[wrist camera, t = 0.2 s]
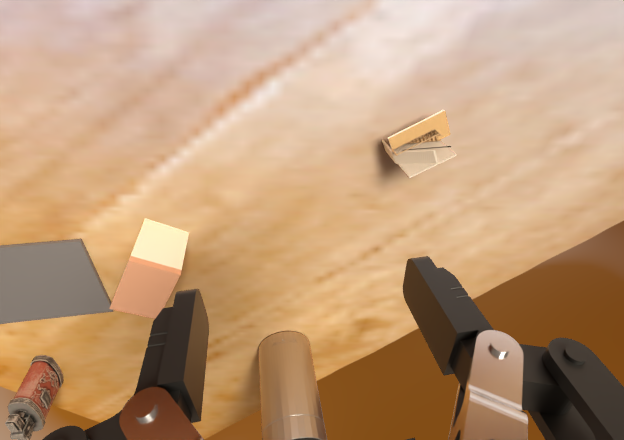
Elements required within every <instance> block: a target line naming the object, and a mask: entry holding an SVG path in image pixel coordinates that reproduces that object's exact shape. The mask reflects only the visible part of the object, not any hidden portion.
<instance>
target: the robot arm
mask: <svg viewBox="0 0 624 440" xmlns="http://www.w3.org/2000/svg"><path fill="white" fill-rule="evenodd" d="M403 294H404V298H405V301H406V303H407V305H408V307H409V309H410V311H411V313H412V315H413V317H414V319H415V321H416V323H417V325H418V326H419V328H420V330H421V332H422V334H423V336H424V338H425V340H426V342H427V344H428V346H429V348H430V350H431V352H432V354H433V356H434V358H435V360H436V361H437V363H438V365H439V367H440V369H441V371H442V373H443V375H449V374H455V376H456V377H457V379H458V381H459V387H458V392H457V398H456V403H455V408H454V413H453V419H452V424H451V429H450V434H449V438H448V440H528V418H527V414H526V413H525V412H523V411H522V410H528V411H529V413H530V415H531V416H532V418H533V420H534V421H535V423H536V425H537V426H538V428H539V430H540V431H541V433H542V434H543V436H544V438H545V439H546V440H624V387H623V386H622V385H621V383H619V381H618V380H617V379H616V378H615V377H614V376H613V374H612V373H611V372H610V371H609V370H608V369H607V368H606V366H605V365H604V364H603V363H602V362H601V361H600V359H599V358H598V357H597V356H596V355H595V354H594V353H593V352H592V351H591V350H590V349H589V348H587V347H586V346H585V345H583V344H581V343H579V342H577V341H575V340H572V339H568V338H556V339H554V340H552V341H551V342H550V343H549V345H548V347H547V348H545V347H537V346H530V345H522V344H518V343H517V342H516V341H515V340H514V339H513V338H512V337H510V336H509V335H507V334H505V333H503V332H500V331H496V330H493V328H492V327H491V325H490V324H489V323H488V321H487V320H486V319H485V317H484V316H483V315H482V313H481V312H480V311H479V309H478V308H477V306H476V305H475V304H474V302H473V301H472V299H471V298H470V297H468V294H467V292H466V291H465V290H464V288H462V285H461V284H460V283H459V281H458V280H457V278H456V277H455V276H454V275H453V274H451V273H450V272H449V271H447V270H446V269H444V268H437V267H436V266H435V264H434V263H433V262H432V260H431V259H430V258H429V257H428V256H426V257H419V258H411V259H408V261H407V265H406V271H405V277H404V283H403ZM208 335H209V324H208V317H207V313H206V310H205V307H204V303H203V300H202V297H201V293H200V291H199V289H193V290H186V291H179V292H177V293H176V295H175V300H174V305H173V307H170V308H163V309H162V310H161V312H160V313H159V314H158V316H157V317H156V318H155V320H154V322H153V325H152V329H151V333H150V337H149V341H148V348H147V349H146V353H145V357H144V361H143V365H142V368H141V372H140V376H139V380H138V384H137V388H136V391H135V393H134V395H133V396H132V397H131V398H130V399H129V400H128V402H127V403H126V404H125V406H124V407H123V409H122V410H121V411H120V412H119V413H118V414H116V415H115V416H113V417H111V418H109V419H108V420H106V421H103V422H101V423H99V424H97V425H95V426H93V427H91V428H89V429H87V430H85V431H83V430H82V429H81V428H80V427H77V426H66V427H63V428H60V429H58V430H55V431H54V432H52V433H50V434H49V435H48V436H46V437H45V438H44V439H43V440H204V439H203V438H202V437H201V436H200V434H199V433H198V432H197V430H196V429H195V428H194V426H193V425H192V424H191V423H193V422H198V421H201V412H202V401H203V390H204V379H205V368H206V357H207V346H208ZM258 351H259V376H260V399H261V421H262V422H261V423H262V440H327V437H326V431H325V426H324V421H323V415H322V410H321V404H320V399H319V393H318V387H317V382H316V376H315V371H314V365H313V359H312V354H311V348H310V343H309V340H308V339H307V337H306V336H304V335H303V334H300V333H297V332H291V331H287V332H279V333H276V334H273V335H271V336H269V337H267V338H266V339H264V340H263V341H262V343H261V344H260V346H259V350H258ZM407 440H415V438H412V439H407Z"/></svg>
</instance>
